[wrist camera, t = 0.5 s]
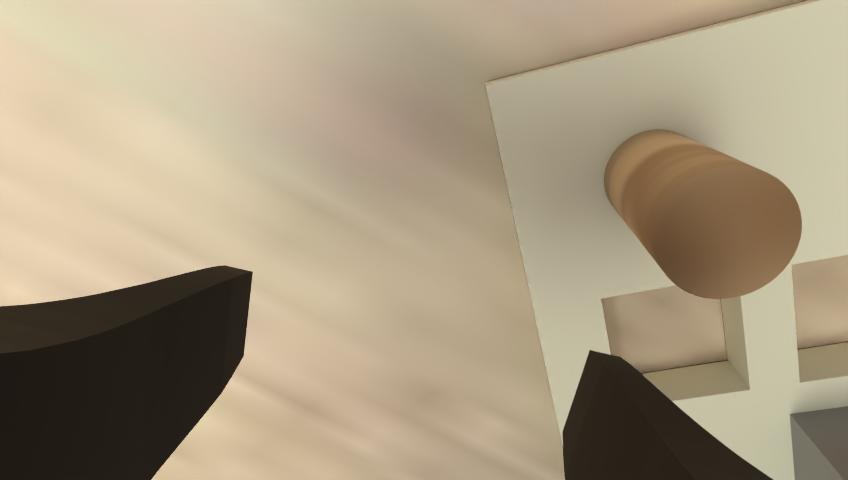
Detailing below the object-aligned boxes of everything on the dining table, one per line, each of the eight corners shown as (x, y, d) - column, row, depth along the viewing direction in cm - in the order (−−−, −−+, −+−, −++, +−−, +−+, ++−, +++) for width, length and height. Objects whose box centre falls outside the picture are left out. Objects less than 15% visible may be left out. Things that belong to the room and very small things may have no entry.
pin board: (970, 499, 22) (1098, 618, 18) (583, 540, 25) (604, 652, 20) (984, -45, 17) (1175, -82, 12) (486, 82, 20) (484, 91, 15)
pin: (708, 212, 18) (806, 285, 12) (611, 231, 19) (663, 309, 13) (697, 119, 17) (797, 151, 12) (596, 142, 18) (645, 183, 12)
